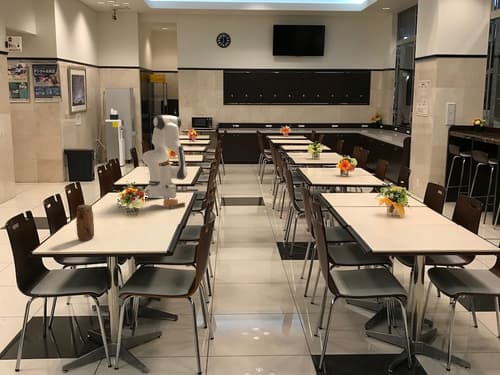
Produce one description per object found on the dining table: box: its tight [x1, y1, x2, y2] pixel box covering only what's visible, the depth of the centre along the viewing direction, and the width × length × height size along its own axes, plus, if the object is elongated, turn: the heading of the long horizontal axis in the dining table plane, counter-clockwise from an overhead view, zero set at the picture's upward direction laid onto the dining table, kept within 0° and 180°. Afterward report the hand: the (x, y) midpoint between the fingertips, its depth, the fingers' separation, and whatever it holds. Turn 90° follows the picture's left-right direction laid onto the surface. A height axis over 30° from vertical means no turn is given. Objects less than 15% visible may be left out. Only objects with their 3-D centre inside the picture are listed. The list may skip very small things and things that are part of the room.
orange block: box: [163, 198, 179, 209], centre depth 391 cm, size 6×9×5 cm, turn 142°
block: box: [75, 204, 95, 242], centre depth 300 cm, size 11×8×20 cm
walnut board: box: [168, 202, 186, 210], centre depth 385 cm, size 2×13×3 cm, turn 135°
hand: (166, 202), depth 394 cm, fingers closed
